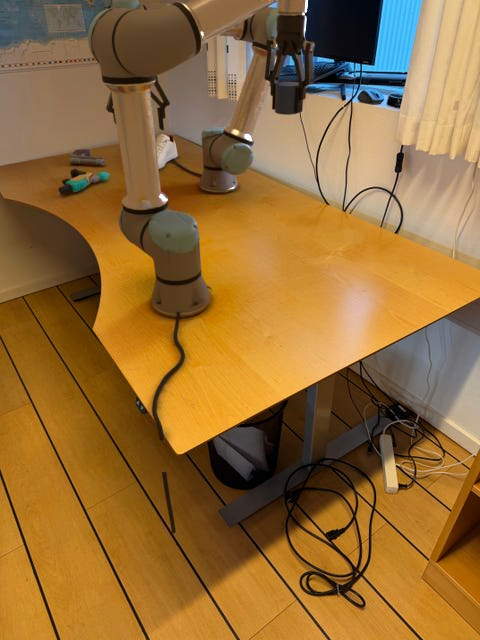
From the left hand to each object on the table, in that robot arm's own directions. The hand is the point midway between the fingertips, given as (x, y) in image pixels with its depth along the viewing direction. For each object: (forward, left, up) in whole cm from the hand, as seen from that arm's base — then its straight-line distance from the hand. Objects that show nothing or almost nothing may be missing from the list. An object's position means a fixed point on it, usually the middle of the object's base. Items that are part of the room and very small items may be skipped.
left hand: (287, 110), depth 135 cm
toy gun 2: (+41, +84, -39) cm, 101 cm away
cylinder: (0, 0, 0) cm, 0 cm away
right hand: (+15, +47, -10) cm, 50 cm away
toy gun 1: (+73, +89, -39) cm, 121 cm away
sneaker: (+70, +57, -39) cm, 98 cm away
